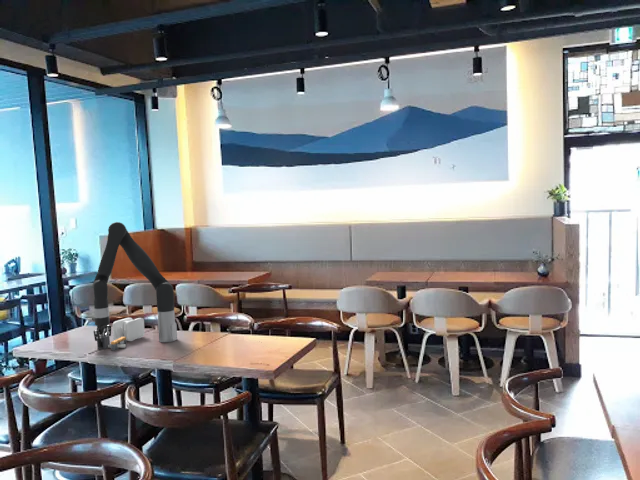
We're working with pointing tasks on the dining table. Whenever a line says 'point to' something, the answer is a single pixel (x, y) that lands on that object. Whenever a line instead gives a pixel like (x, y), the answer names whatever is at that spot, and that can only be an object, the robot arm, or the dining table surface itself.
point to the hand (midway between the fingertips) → (103, 346)
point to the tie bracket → (115, 343)
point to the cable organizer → (128, 329)
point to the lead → (107, 343)
